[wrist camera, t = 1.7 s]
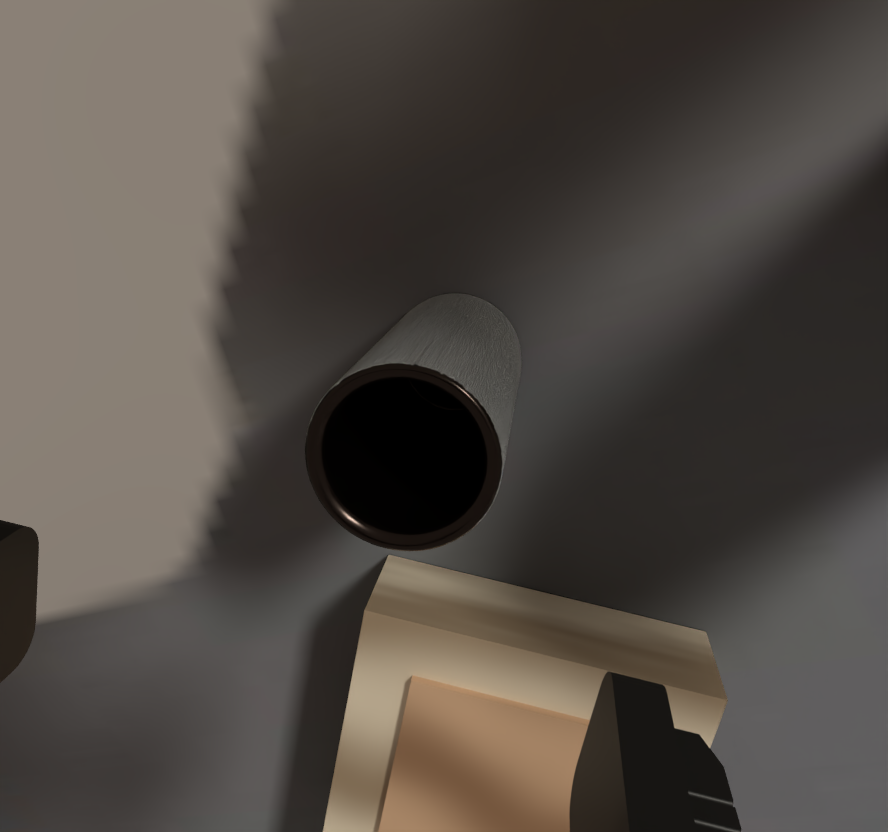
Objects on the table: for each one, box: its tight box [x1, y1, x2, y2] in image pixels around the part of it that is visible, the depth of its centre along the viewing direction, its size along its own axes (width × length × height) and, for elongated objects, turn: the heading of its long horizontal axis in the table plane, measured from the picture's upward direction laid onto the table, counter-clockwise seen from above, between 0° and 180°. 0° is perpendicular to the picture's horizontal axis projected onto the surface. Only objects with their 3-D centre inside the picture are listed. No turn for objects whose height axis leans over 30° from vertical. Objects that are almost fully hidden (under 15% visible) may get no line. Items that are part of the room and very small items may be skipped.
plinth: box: [323, 555, 728, 832], centre depth 30 cm, size 12×12×4 cm
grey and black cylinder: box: [305, 293, 522, 551], centre depth 23 cm, size 4×4×10 cm
